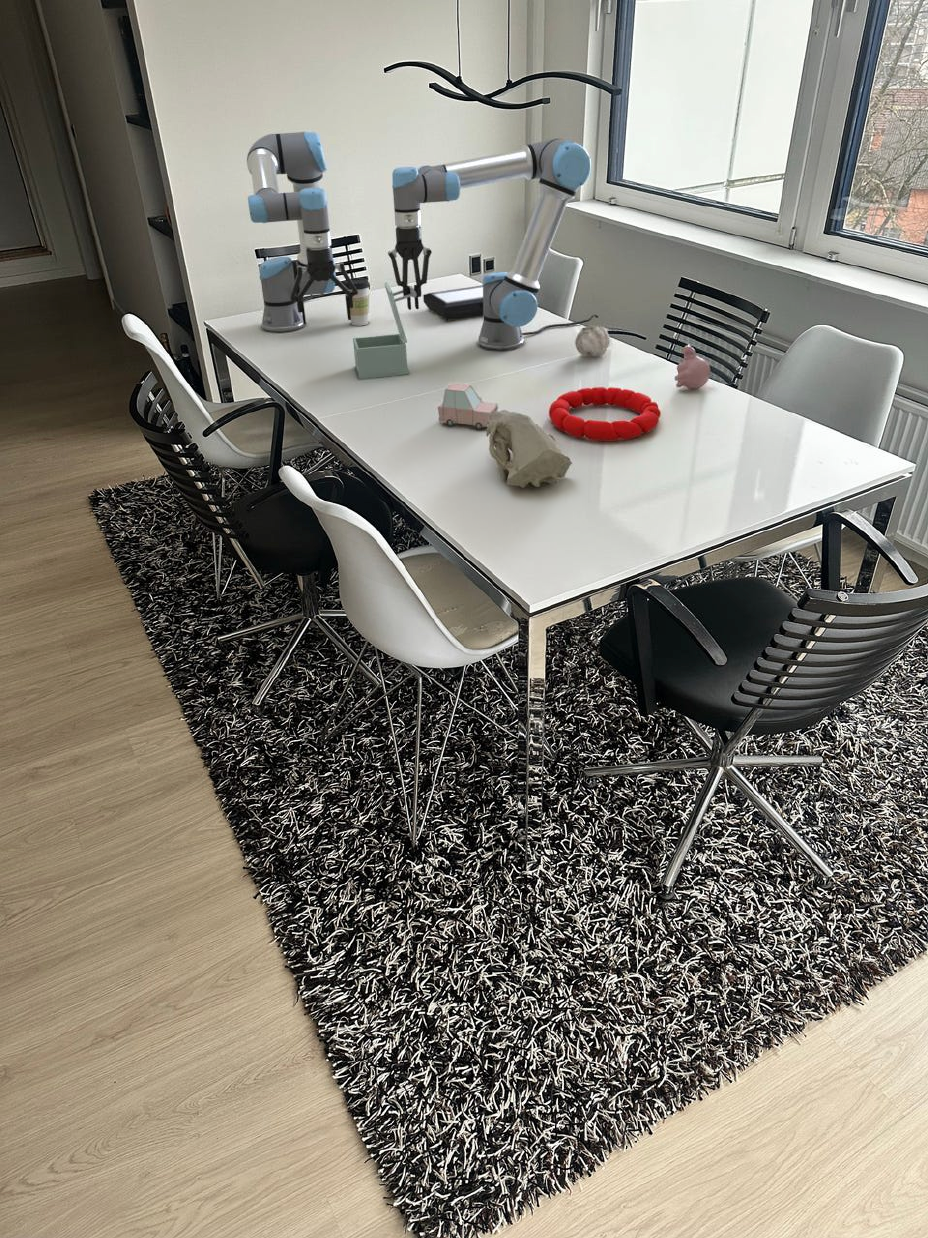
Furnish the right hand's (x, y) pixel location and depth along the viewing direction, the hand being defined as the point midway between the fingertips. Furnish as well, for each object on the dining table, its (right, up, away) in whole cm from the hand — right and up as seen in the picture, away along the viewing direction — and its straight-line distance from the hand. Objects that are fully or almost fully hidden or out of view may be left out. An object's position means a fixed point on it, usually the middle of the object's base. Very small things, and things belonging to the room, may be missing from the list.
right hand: (413, 307), depth 275 cm
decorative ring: (+54, -42, -31) cm, 75 cm away
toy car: (+17, -42, -29) cm, 54 cm away
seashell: (+58, -11, +14) cm, 60 cm away
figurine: (+83, -28, -12) cm, 88 cm away
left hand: (-26, -5, -3) cm, 27 cm away
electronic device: (+19, +21, +62) cm, 68 cm away
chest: (-11, -17, +9) cm, 22 cm away
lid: (-6, -2, 0) cm, 6 cm away
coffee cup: (-22, +13, +52) cm, 58 cm away
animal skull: (+30, -59, -55) cm, 86 cm away
